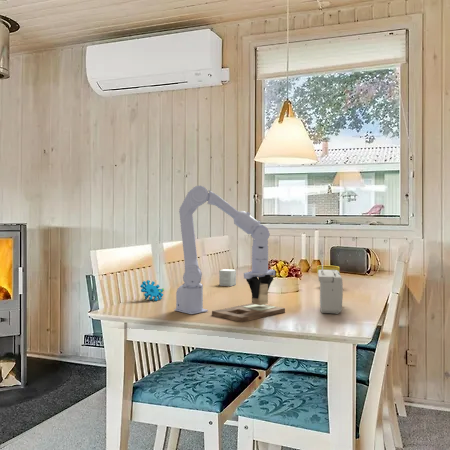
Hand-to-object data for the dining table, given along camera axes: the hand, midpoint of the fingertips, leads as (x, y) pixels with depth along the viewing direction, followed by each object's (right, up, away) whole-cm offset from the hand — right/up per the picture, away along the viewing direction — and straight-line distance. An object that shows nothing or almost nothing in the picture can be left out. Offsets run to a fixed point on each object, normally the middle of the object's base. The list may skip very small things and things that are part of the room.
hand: (259, 297), depth 172 cm
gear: (-41, -4, +21) cm, 46 cm away
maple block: (0, -2, 0) cm, 2 cm away
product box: (-11, -3, +59) cm, 60 cm away
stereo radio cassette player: (+26, -5, +6) cm, 27 cm away
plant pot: (+36, -4, +55) cm, 65 cm away
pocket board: (-4, -5, -4) cm, 7 cm away
